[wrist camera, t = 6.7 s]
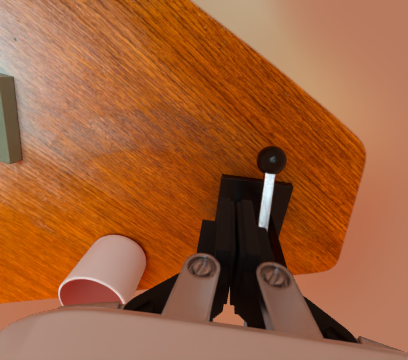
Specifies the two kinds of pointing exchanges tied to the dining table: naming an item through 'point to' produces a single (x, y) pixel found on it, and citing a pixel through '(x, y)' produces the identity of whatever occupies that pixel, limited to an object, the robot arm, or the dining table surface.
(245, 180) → the bracket
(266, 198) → the lever
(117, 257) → the cup
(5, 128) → the button box
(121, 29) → the dining table surface
